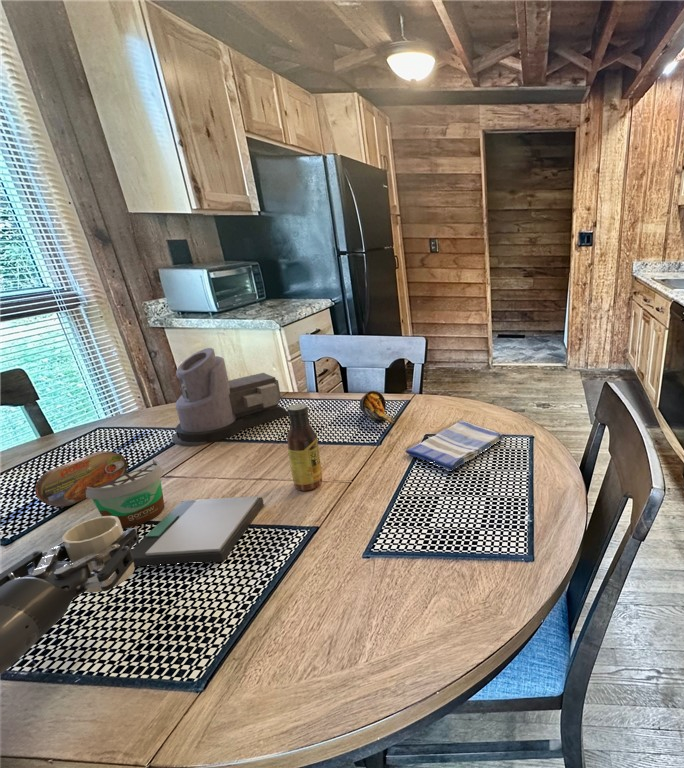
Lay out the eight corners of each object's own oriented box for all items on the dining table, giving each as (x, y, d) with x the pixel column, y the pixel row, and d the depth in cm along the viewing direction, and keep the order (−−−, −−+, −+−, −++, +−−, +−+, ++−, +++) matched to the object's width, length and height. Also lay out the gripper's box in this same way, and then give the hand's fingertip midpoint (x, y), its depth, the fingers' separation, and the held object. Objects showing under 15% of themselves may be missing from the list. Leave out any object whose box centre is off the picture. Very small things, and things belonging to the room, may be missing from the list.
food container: (118, 540, 79) (103, 496, 76) (98, 532, 81) (82, 488, 78) (186, 504, 90) (175, 464, 87) (167, 497, 92) (155, 458, 89)
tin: (49, 515, 85) (35, 479, 83) (40, 511, 86) (25, 476, 84) (132, 477, 99) (122, 446, 96) (123, 475, 100) (113, 443, 97)
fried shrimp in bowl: (376, 394, 143) (410, 389, 132) (374, 426, 141) (408, 423, 130) (352, 390, 135) (386, 385, 125) (349, 424, 134) (384, 421, 123)
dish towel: (505, 440, 123) (505, 432, 122) (452, 475, 105) (452, 465, 104) (460, 425, 132) (460, 417, 131) (404, 454, 113) (403, 445, 112)
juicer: (185, 451, 111) (162, 364, 103) (163, 434, 120) (140, 352, 111) (295, 416, 135) (283, 342, 126) (269, 404, 143) (257, 334, 135)
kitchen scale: (124, 568, 73) (120, 556, 72) (184, 508, 89) (181, 498, 88) (223, 562, 75) (220, 550, 74) (263, 505, 91) (261, 494, 90)
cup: (70, 594, 61) (49, 544, 58) (102, 563, 66) (85, 516, 63) (115, 591, 61) (98, 541, 58) (144, 561, 67) (129, 514, 64)
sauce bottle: (321, 490, 97) (310, 411, 90) (291, 494, 95) (278, 414, 88) (324, 475, 103) (314, 400, 96) (296, 478, 101) (284, 403, 94)
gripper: (58, 602, 48) (155, 511, 64) (-89, 611, 46) (49, 516, 62) (78, 649, 51) (167, 550, 66) (-61, 660, 49) (65, 556, 64)
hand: (109, 534), depth 64 cm, fingers closed on cup, 6 cm apart
